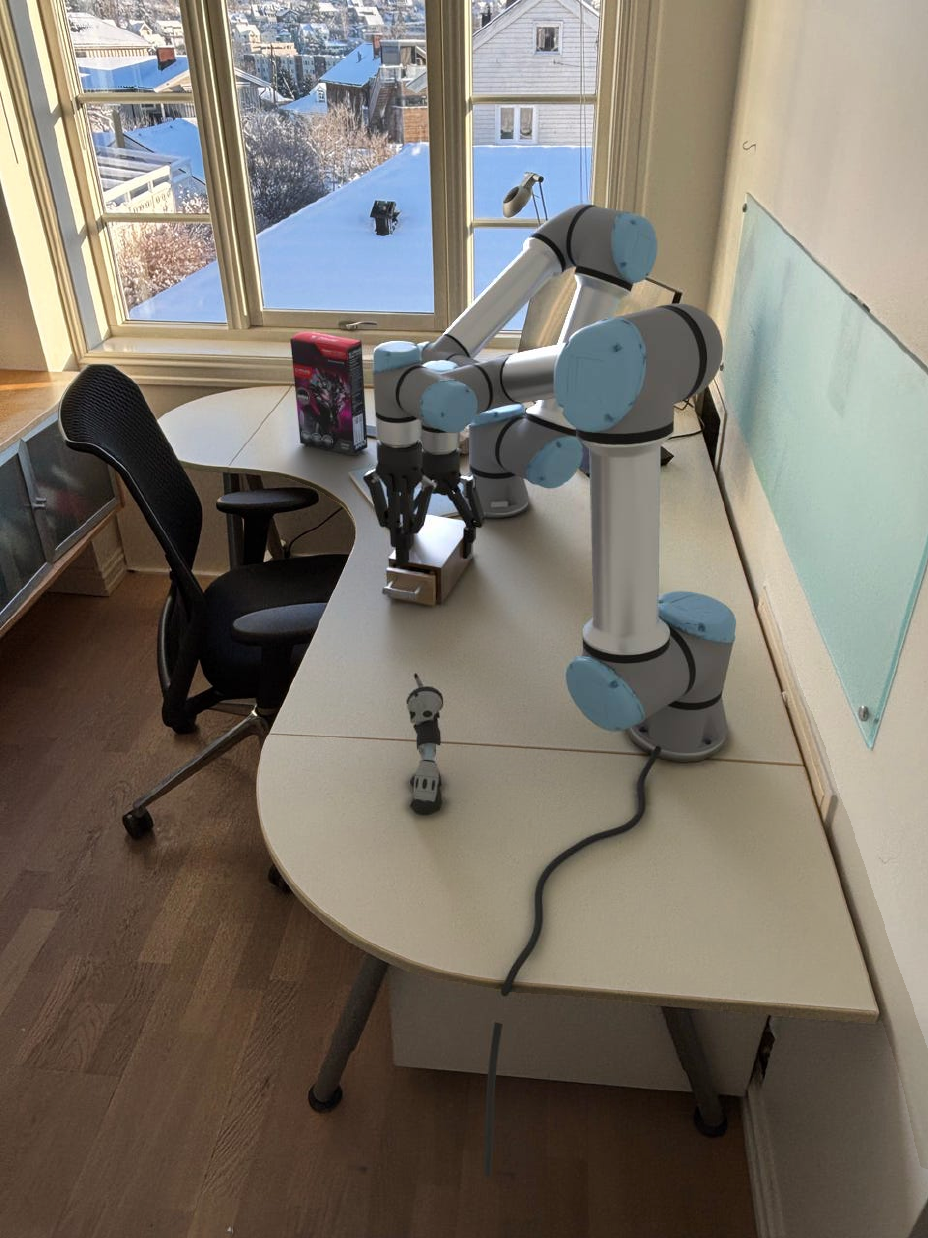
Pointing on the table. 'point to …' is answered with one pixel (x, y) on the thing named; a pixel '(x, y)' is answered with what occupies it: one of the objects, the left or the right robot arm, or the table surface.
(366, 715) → the table surface
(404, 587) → the drawer
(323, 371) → the graphics card box
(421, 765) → the robot
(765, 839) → the table surface
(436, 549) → the cabinet
